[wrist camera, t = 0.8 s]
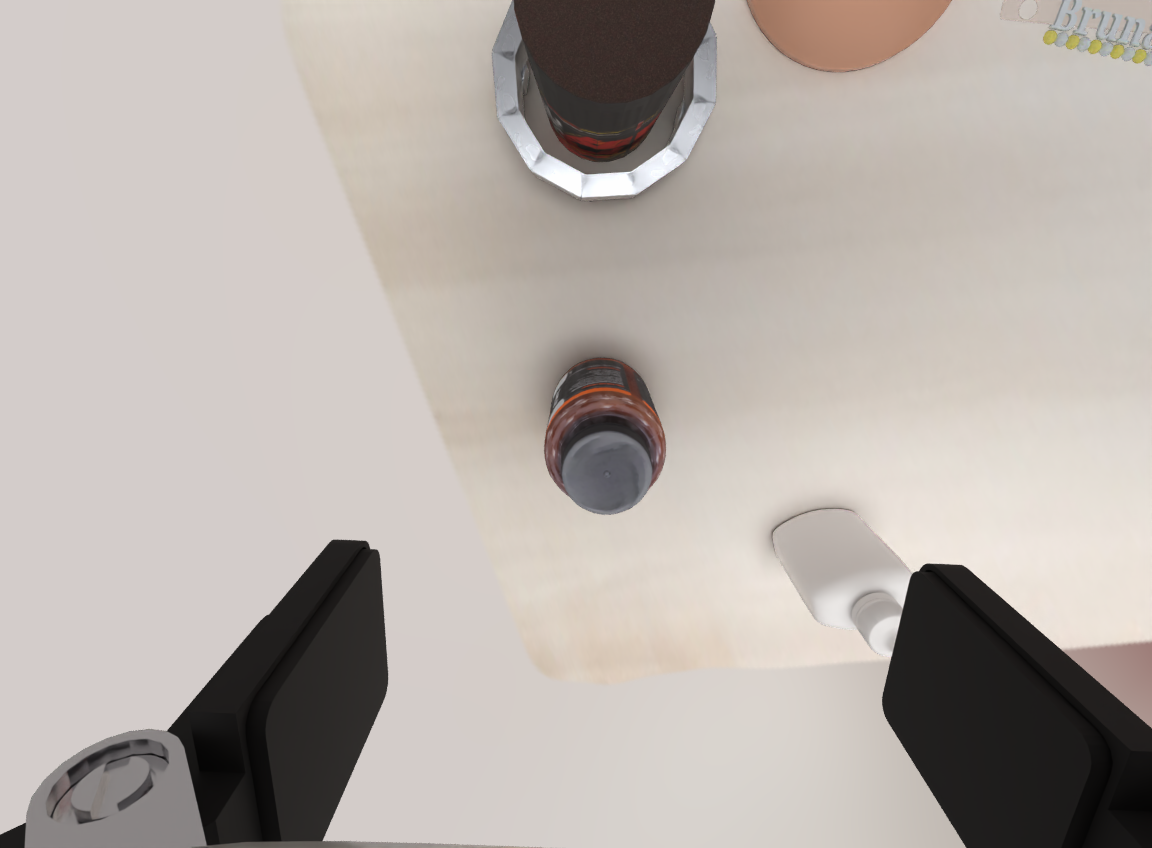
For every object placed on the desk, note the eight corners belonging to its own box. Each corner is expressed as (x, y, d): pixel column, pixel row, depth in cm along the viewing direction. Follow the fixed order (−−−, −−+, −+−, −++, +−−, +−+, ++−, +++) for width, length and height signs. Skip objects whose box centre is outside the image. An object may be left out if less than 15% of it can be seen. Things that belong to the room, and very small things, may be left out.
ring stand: (633, -55, 30) (641, -111, 25) (730, 131, 32) (756, 112, 27) (470, 71, 31) (449, 41, 27) (574, 238, 34) (572, 238, 29)
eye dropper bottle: (843, 570, 40) (946, 704, 28) (762, 553, 40) (834, 682, 28) (867, 512, 39) (985, 628, 27) (783, 494, 38) (867, 604, 27)
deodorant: (524, 115, 32) (473, 17, 18) (590, 10, 30) (593, -189, 16) (612, 185, 33) (631, 146, 19) (681, 87, 31) (759, -37, 17)
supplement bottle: (533, 389, 36) (510, 453, 26) (616, 336, 35) (628, 380, 25) (586, 466, 38) (586, 557, 27) (667, 417, 37) (700, 492, 26)
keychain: (994, 35, 30) (1018, -34, 29) (987, 39, 31) (1010, -29, 30) (1189, 77, 31) (1220, 10, 30) (1179, 80, 31) (1208, 14, 30)
